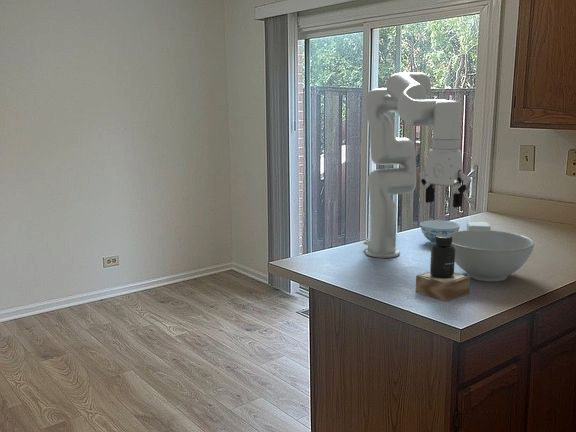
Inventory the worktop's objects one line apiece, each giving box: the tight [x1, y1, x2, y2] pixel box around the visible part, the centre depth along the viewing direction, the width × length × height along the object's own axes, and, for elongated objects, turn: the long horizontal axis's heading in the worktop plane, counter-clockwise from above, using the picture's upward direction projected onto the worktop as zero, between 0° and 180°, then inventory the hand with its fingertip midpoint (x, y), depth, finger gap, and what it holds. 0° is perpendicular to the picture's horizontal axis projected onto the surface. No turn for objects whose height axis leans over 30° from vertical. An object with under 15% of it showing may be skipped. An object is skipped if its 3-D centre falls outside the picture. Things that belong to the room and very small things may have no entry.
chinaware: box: [420, 219, 461, 246], centre depth 225 cm, size 15×15×8 cm
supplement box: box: [466, 221, 491, 230], centre depth 204 cm, size 7×7×13 cm
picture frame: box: [415, 271, 471, 302], centre depth 170 cm, size 11×11×5 cm
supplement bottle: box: [429, 234, 456, 278], centre depth 168 cm, size 7×7×12 cm
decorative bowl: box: [448, 229, 535, 282], centre depth 184 cm, size 27×27×12 cm
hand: (443, 204), depth 166 cm, fingers open, 9 cm apart
